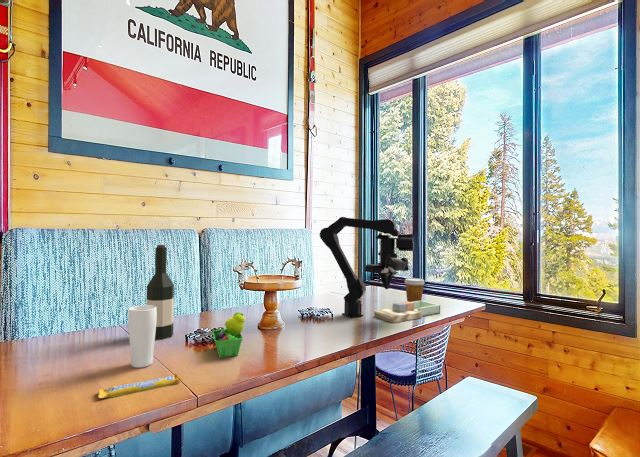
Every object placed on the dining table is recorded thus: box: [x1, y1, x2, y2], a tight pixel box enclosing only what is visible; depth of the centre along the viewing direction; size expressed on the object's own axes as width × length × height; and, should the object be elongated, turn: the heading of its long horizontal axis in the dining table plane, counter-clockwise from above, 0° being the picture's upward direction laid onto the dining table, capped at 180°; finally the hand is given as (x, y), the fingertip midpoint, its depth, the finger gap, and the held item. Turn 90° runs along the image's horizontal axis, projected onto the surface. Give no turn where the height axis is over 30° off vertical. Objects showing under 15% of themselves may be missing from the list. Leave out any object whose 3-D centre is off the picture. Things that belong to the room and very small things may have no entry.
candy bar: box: [97, 373, 182, 399], centre depth 84 cm, size 17×4×2 cm, turn 123°
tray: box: [412, 300, 441, 317], centre depth 162 cm, size 13×11×4 cm
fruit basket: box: [212, 311, 246, 358], centre depth 109 cm, size 11×9×11 cm
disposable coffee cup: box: [404, 277, 426, 302], centre depth 178 cm, size 10×10×12 cm
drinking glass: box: [127, 304, 157, 369], centre depth 97 cm, size 7×7×15 cm
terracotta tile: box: [400, 300, 414, 311], centre depth 156 cm, size 4×4×3 cm
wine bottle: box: [145, 244, 175, 341], centre depth 122 cm, size 8×8×30 cm
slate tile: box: [392, 301, 407, 312], centre depth 154 cm, size 4×4×3 cm
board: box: [373, 307, 423, 324], centre depth 153 cm, size 16×11×2 cm
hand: (386, 289), depth 150 cm, fingers closed
